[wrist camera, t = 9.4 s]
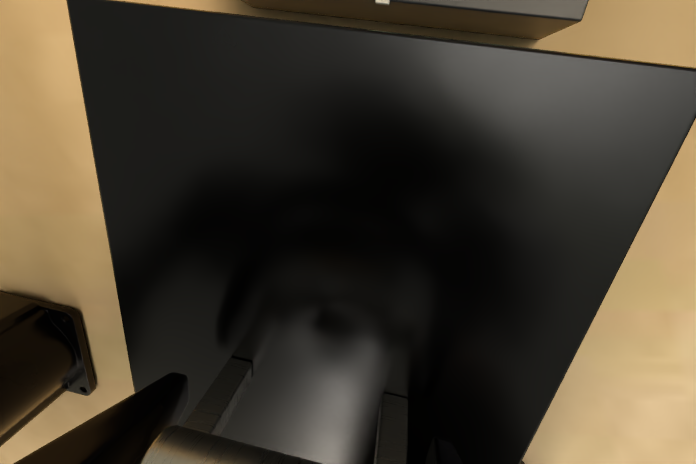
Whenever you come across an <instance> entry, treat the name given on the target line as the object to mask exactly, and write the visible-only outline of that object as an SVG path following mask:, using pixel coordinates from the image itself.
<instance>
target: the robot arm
mask: <svg viewBox="0 0 696 464" xmlns="http://www.w3.org/2000/svg"><path fill="white" fill-rule="evenodd" d="M95 389H96V385H95V381H94V376H93V372H92V368H91V363H90V359H89V354H88V350H87V346H86V341H85V337H84V333H83V328H82V324H81V320H80V316H79V314H78V313H77V311H75V310H74V309H72V308H68V307H64V306H60V305H55V304H51V303H47V302H42V301H38V300H34V299H29V298H25V297H21V296H17V295H12V294H8V293H4V292H0V447H1V446H2V445H3V444H4V443H5V442H6V441H8V440H9V439H10V438H11V437H12V436H13V435H15V434H16V433H17V432H18V431H19V430H20V429H22V428H23V427H24V426H25V425H26V424H27V423H29V422H30V421H31V420H32V419H33V418H34V417H36V416H37V415H38V414H39V413H40V412H42V411H43V410H44V409H45V408H46V407H47V406H49V405H50V404H51V403H52V402H53V401H54V400H56V399H57V398H58V397H59V396H60V395H61V394H63V393H64V392H65V391H66V390H67V391H70V392H74V393H78V394H82V395H87V396H88V395H90V394H91V393H92V392H93V391H94V390H95ZM188 401H189V385H188V377H187V376H186V375H184V374H180V373H176V372H172V373H169V374H167V375H165V376H164V377H162V378H160V379H159V380H157V381H155V382H153V383H152V384H150V385H148V386H146V387H145V388H143V389H141V390H140V391H138V392H136V393H134V394H133V395H131V396H129V397H128V398H126V399H124V400H122V401H121V402H119V403H117V404H115V405H114V406H112V407H110V408H109V409H107V410H105V411H103V412H102V413H100V414H98V415H96V416H95V417H93V418H91V419H90V420H88V421H86V422H84V423H83V424H81V425H79V426H78V427H76V428H74V429H72V430H71V431H69V432H67V433H65V434H64V435H62V436H60V437H59V438H57V439H55V440H53V441H52V442H50V443H48V444H46V445H45V446H43V447H41V448H40V449H38V450H36V451H34V452H33V453H31V454H29V455H28V456H26V457H24V458H22V459H21V460H19V461H17V462H15V463H14V464H139V463H140V461H141V459H142V458H143V456H144V454H145V452H146V451H147V449H148V448H149V446H150V445H151V443H152V442H153V441H154V440H155V438H156V437H157V436H158V435H159V434H160V433H161V432H162V431H163V430H164V429H166V428H167V427H170V426H174V425H177V423H178V422H179V420H180V418H181V416H182V414H183V412H184V410H185V408H186V407H187V404H188ZM425 464H463V463H462V461H461V459H460V457H459V455H458V453H457V451H456V449H455V447H454V446H453V444H452V442H451V441H450V440H448V439H445V438H441V437H437V436H435V437H433V439H432V441H431V444H430V447H429V450H428V453H427V457H426V462H425Z"/></svg>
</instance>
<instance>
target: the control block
mask: <svg viewBox="0 0 696 464" xmlns="http://www.w3.org/2000/svg"><path fill="white" fill-rule="evenodd" d="M242 1H243V2H245V3H247V4H249V5H250V6H252V7H256V8H264V9H273V10H282V11H291V12H300V13H309V14H317V15H326V16H335V17H344V18H353V19H362V20H370V21H379V22H388V23H397V24H406V25H415V26H423V27H432V28H441V29H450V30H459V31H468V32H477V33H485V34H494V35H503V36H512V37H521V38H530V39H538V40H539V39H542V38H544V37H546V36H548V35H551V34H553V33H555V32H557V31H560V30H562V29H564V28H566V27H569V26H571V25H573V24H575V23H578V22H580V21H581V20H582V18H583V15H584V12H585V9H586V7H587V4H588V1H589V0H242Z"/></svg>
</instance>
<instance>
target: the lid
mask: <svg viewBox="0 0 696 464" xmlns="http://www.w3.org/2000/svg"><path fill="white" fill-rule="evenodd" d="M67 6H68V12H69V18H70V23H71V29H72V35H73V41H74V46H75V52H76V58H77V64H78V69H79V75H80V81H81V87H82V92H83V98H84V104H85V110H86V115H87V121H88V127H89V133H90V138H91V144H92V150H93V156H94V161H95V167H96V173H97V179H98V184H99V190H100V196H101V202H102V207H103V213H104V219H105V225H106V230H107V236H108V242H109V248H110V253H111V259H112V265H113V271H114V276H115V282H116V288H117V294H118V299H119V305H120V311H121V317H122V322H123V328H124V334H125V340H126V345H127V351H128V357H129V363H130V368H131V374H132V380H133V386H134V391H135V393H136V392H138V391H140V390H141V389H143V388H145V387H146V386H148V385H150V384H152V383H153V382H155V381H157V380H159V379H160V378H162V377H164V376H165V375H167V374H169V373H172V372H176V373H180V374H184V375H186V376H187V377H188V385H189V401H188V404H187V407H186V408H185V410H184V412H183V414H182V416H181V418H180V420H179V422H178V423H177V425H174V426H170V427H167V428H166V429H164V430H163V431H162V432H161V433H160V434H159V435H158V436H157V437H156V438H155V440H154V441H153V442H152V443H151V445H150V446H149V448H148V449H147V451H146V452H145V454H144V456H143V458H142V459H141V461H140V463H139V464H425V462H426V457H427V453H428V450H429V447H430V444H431V441H432V439H433V437H435V436H437V437H441V438H445V439H448V440H450V441H451V442H452V444H453V446H454V447H455V449H456V451H457V453H458V455H459V457H460V459H461V461H462V463H463V464H520V463H521V461H522V459H523V457H524V455H525V453H526V451H527V449H528V447H529V445H530V443H531V441H532V439H533V437H534V435H535V433H536V431H537V429H538V427H539V425H540V423H541V421H542V419H543V417H544V415H545V413H546V412H547V410H548V408H549V406H550V404H551V402H552V400H553V398H554V396H555V394H556V392H557V390H558V388H559V386H560V384H561V382H562V380H563V378H564V376H565V374H566V372H567V370H568V368H569V366H570V364H571V362H572V360H573V358H574V356H575V354H576V353H577V351H578V349H579V347H580V345H581V343H582V341H583V339H584V337H585V335H586V333H587V331H588V329H589V327H590V325H591V323H592V321H593V319H594V317H595V315H596V313H597V311H598V309H599V307H600V305H601V303H602V301H603V299H604V297H605V295H606V293H607V292H608V290H609V288H610V286H611V284H612V282H613V280H614V278H615V276H616V274H617V272H618V270H619V268H620V266H621V264H622V262H623V260H624V258H625V256H626V254H627V252H628V250H629V248H630V246H631V244H632V242H633V240H634V238H635V236H636V234H637V232H638V231H639V229H640V227H641V225H642V223H643V221H644V219H645V217H646V215H647V213H648V211H649V209H650V207H651V205H652V203H653V201H654V199H655V197H656V195H657V193H658V191H659V189H660V187H661V185H662V183H663V181H664V179H665V177H666V175H667V173H668V172H669V170H670V168H671V166H672V164H673V162H674V160H675V158H676V156H677V154H678V152H679V150H680V148H681V146H682V144H683V142H684V140H685V138H686V136H687V134H688V132H689V130H690V128H691V126H692V124H693V122H694V120H695V118H696V68H694V67H685V66H677V65H668V64H659V63H651V62H642V61H634V60H625V59H616V58H608V57H599V56H591V55H582V54H573V53H565V52H556V51H548V50H539V49H530V48H522V47H513V46H505V45H496V44H487V43H479V42H470V41H462V40H453V39H444V38H436V37H427V36H419V35H410V34H401V33H393V32H384V31H376V30H367V29H358V28H350V27H341V26H333V25H324V24H315V23H307V22H298V21H290V20H281V19H272V18H264V17H255V16H247V15H238V14H229V13H221V12H212V11H204V10H195V9H186V8H178V7H169V6H161V5H152V4H143V3H135V2H126V1H118V0H67Z"/></svg>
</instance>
